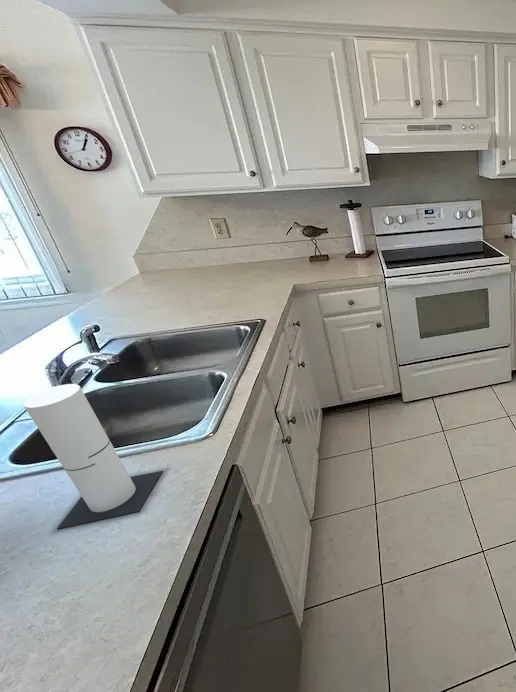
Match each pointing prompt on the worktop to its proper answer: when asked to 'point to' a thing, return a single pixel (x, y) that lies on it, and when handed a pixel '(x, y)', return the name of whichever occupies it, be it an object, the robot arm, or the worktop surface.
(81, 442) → the cylindrical container
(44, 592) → the worktop surface
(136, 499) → the mat
